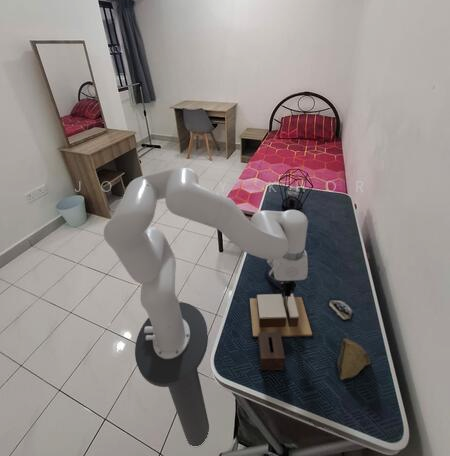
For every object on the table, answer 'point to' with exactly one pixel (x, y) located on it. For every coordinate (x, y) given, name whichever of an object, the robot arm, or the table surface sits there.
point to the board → (286, 331)
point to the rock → (351, 359)
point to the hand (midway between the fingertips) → (287, 287)
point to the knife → (287, 292)
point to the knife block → (271, 351)
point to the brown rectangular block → (291, 312)
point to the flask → (271, 279)
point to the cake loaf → (271, 310)
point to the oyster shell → (341, 309)
